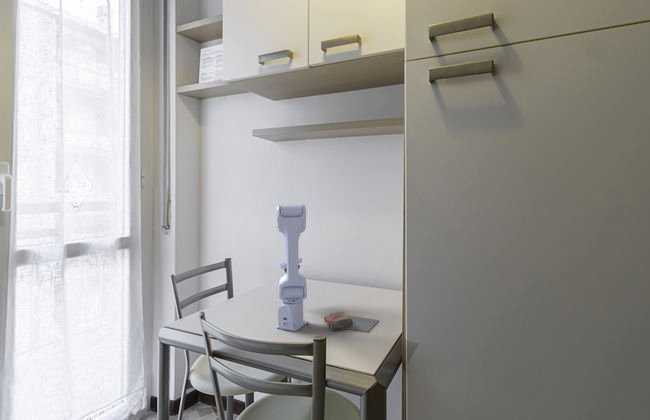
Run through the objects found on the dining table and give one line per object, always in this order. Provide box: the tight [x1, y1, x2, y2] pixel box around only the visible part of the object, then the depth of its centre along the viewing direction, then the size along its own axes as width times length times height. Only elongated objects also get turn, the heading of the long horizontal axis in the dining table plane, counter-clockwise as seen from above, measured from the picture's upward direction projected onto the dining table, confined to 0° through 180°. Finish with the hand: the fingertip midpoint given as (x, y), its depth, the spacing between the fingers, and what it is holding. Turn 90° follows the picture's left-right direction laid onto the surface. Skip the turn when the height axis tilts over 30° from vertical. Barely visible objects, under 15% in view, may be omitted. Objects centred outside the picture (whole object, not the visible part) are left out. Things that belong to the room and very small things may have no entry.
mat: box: [345, 314, 380, 333], centre depth 134 cm, size 12×14×1 cm
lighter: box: [323, 311, 353, 331], centre depth 132 cm, size 8×3×10 cm
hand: (292, 282), depth 151 cm, fingers closed
